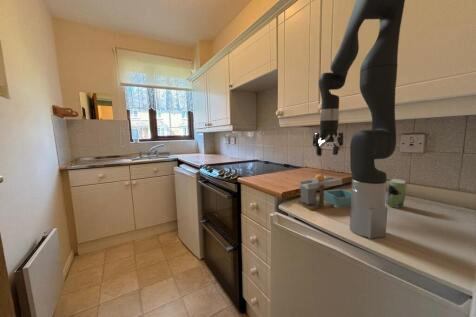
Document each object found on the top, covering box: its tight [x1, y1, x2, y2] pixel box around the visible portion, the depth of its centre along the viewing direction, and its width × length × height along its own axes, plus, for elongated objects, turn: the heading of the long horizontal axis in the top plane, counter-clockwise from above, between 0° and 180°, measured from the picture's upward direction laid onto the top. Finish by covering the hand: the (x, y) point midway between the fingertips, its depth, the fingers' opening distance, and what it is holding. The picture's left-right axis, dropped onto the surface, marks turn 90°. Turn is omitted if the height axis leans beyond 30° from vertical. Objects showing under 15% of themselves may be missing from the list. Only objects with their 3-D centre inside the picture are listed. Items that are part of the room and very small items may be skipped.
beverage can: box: [385, 178, 408, 209], centre depth 86 cm, size 6×7×12 cm
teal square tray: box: [324, 188, 351, 208], centre depth 94 cm, size 12×12×4 cm
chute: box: [299, 175, 343, 205], centre depth 93 cm, size 17×12×10 cm
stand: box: [297, 185, 335, 211], centre depth 90 cm, size 12×10×10 cm
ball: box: [314, 173, 325, 182], centre depth 90 cm, size 4×4×4 cm
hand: (327, 155), depth 92 cm, fingers open, 8 cm apart
